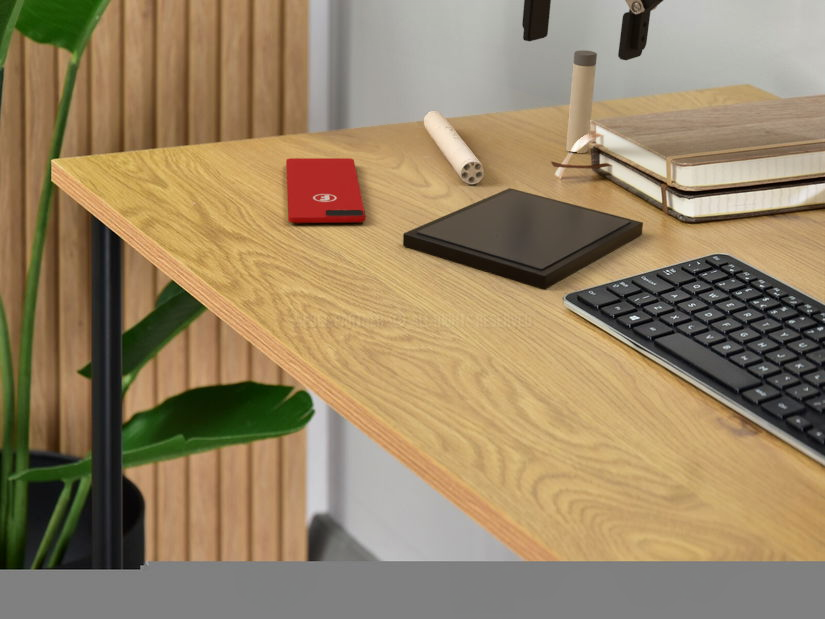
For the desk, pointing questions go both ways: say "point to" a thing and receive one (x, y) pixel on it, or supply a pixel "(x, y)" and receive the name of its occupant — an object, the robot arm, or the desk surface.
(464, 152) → the cream cylinder
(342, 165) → the electronic device
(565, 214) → the tablet
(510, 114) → the desk surface
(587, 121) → the stylus
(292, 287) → the desk surface
